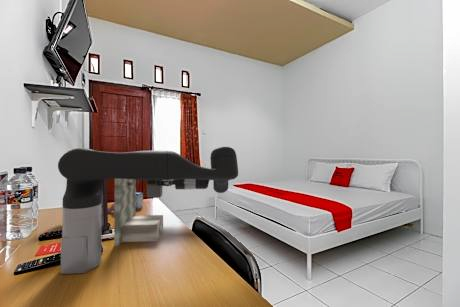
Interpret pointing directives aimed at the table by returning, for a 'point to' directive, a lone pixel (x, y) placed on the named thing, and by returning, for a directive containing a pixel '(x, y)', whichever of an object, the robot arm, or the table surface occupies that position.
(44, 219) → the table surface
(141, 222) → the wall shelf
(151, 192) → the dark grey block
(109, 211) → the video game controller
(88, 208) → the robot arm
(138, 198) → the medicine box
